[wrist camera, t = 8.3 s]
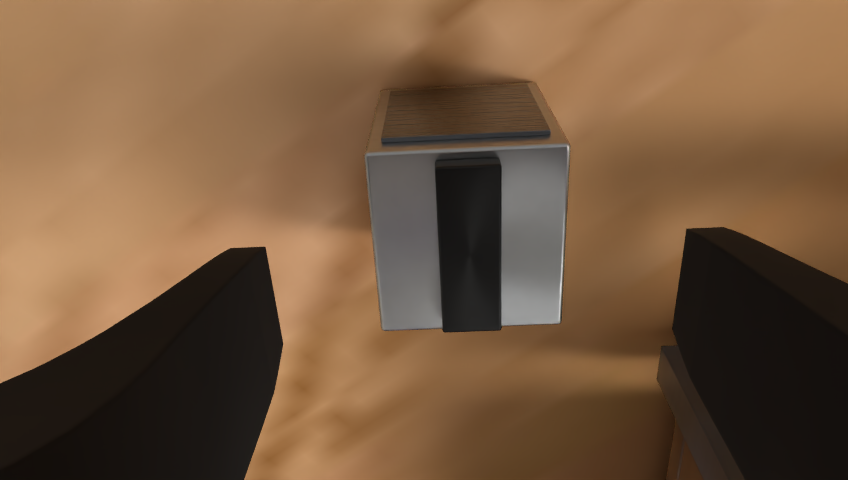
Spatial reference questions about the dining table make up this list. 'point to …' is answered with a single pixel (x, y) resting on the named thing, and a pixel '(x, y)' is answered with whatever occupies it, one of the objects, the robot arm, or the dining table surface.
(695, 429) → the drawer
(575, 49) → the dining table surface
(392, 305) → the striped metal cube
